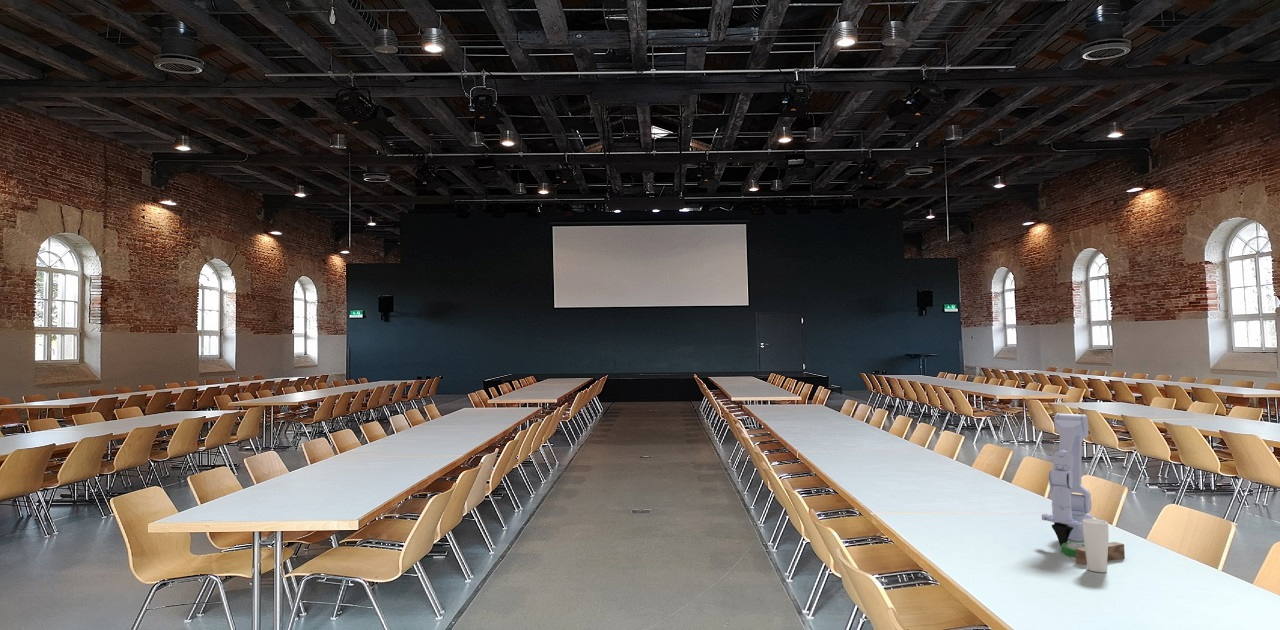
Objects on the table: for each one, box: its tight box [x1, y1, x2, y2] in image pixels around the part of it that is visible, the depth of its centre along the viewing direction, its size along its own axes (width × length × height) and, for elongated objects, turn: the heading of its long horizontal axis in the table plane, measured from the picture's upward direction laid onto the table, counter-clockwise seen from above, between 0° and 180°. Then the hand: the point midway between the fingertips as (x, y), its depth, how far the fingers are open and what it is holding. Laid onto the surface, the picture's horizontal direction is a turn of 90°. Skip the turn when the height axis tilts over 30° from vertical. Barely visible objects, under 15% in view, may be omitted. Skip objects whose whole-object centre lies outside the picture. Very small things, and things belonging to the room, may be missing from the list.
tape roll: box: [1060, 541, 1085, 559], centre depth 239 cm, size 11×11×3 cm
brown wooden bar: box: [1075, 541, 1126, 566], centre depth 232 cm, size 18×3×4 cm, turn 110°
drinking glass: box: [1083, 518, 1110, 573], centre depth 223 cm, size 7×7×15 cm
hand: (1063, 546), depth 244 cm, fingers closed
